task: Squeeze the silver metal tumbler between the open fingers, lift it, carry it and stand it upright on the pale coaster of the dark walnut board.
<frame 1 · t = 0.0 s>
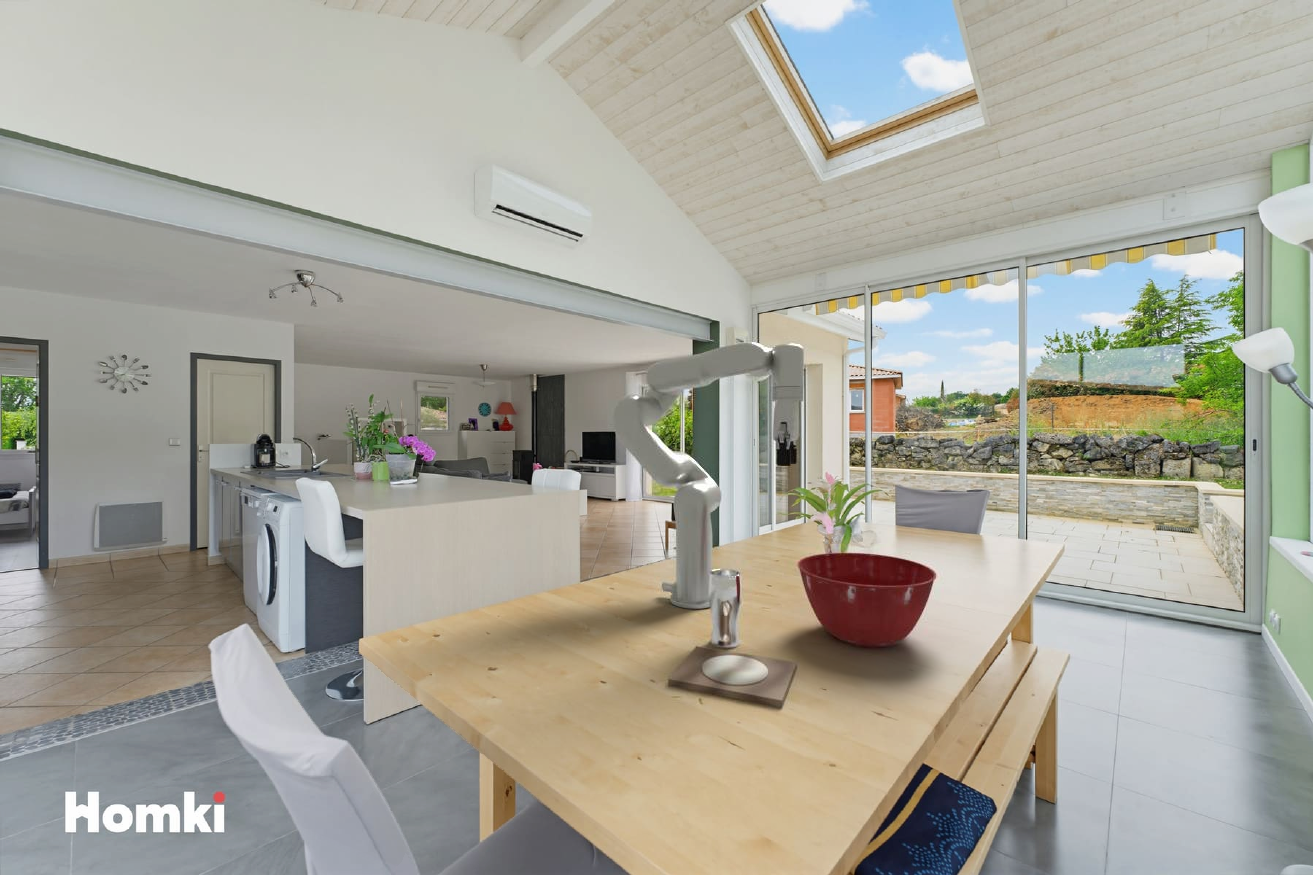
hand: (786, 464, 136), 37 cm above the table, tool pointing down, fingers open, 9 cm apart
silver metal tumbler: (724, 643, 117), on the table
mixing bowl: (862, 636, 122), on the table
walnut board: (734, 676, 101), on the table
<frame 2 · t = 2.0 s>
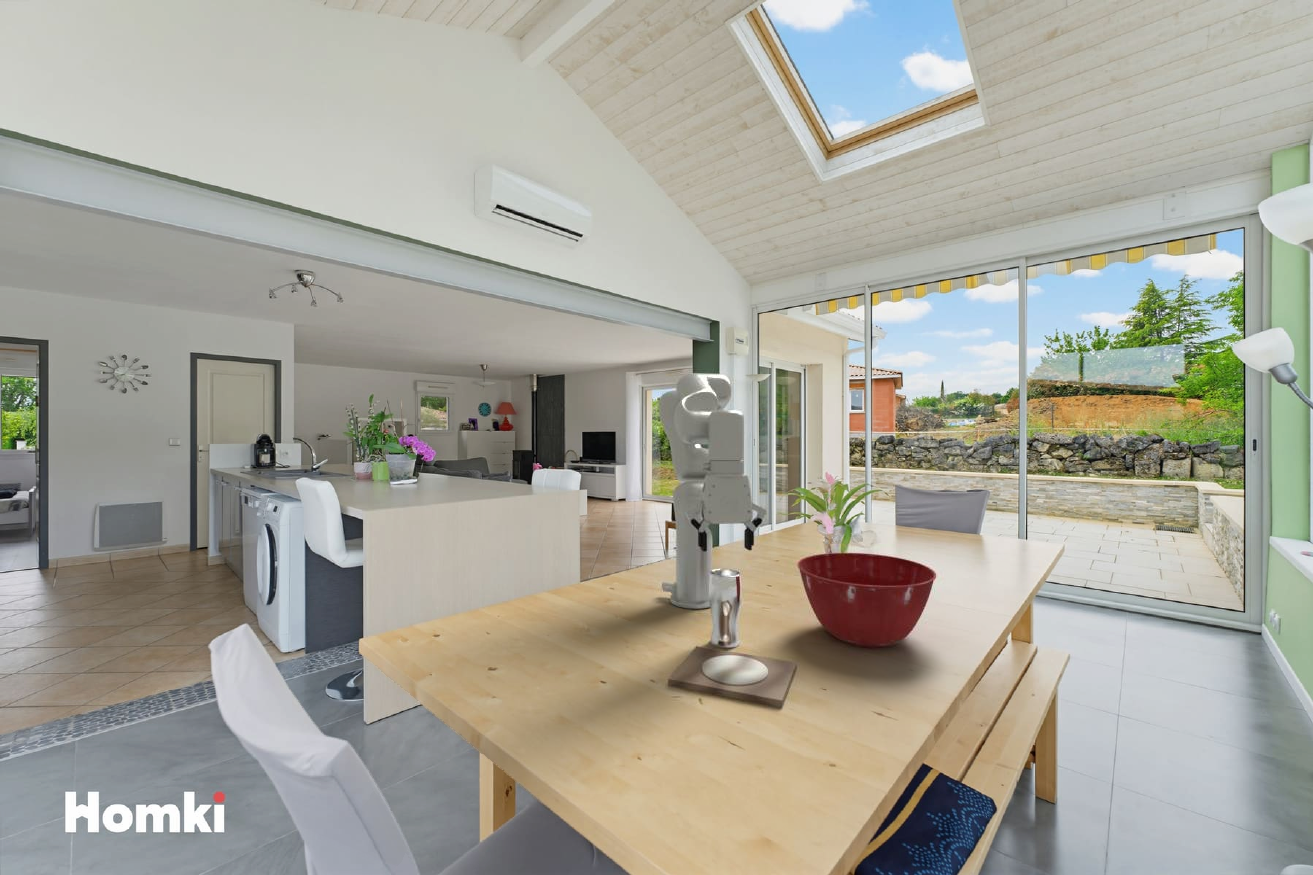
hand: (725, 549, 117), 20 cm above the table, tool pointing down, fingers open, 9 cm apart
nothing on the table moved.
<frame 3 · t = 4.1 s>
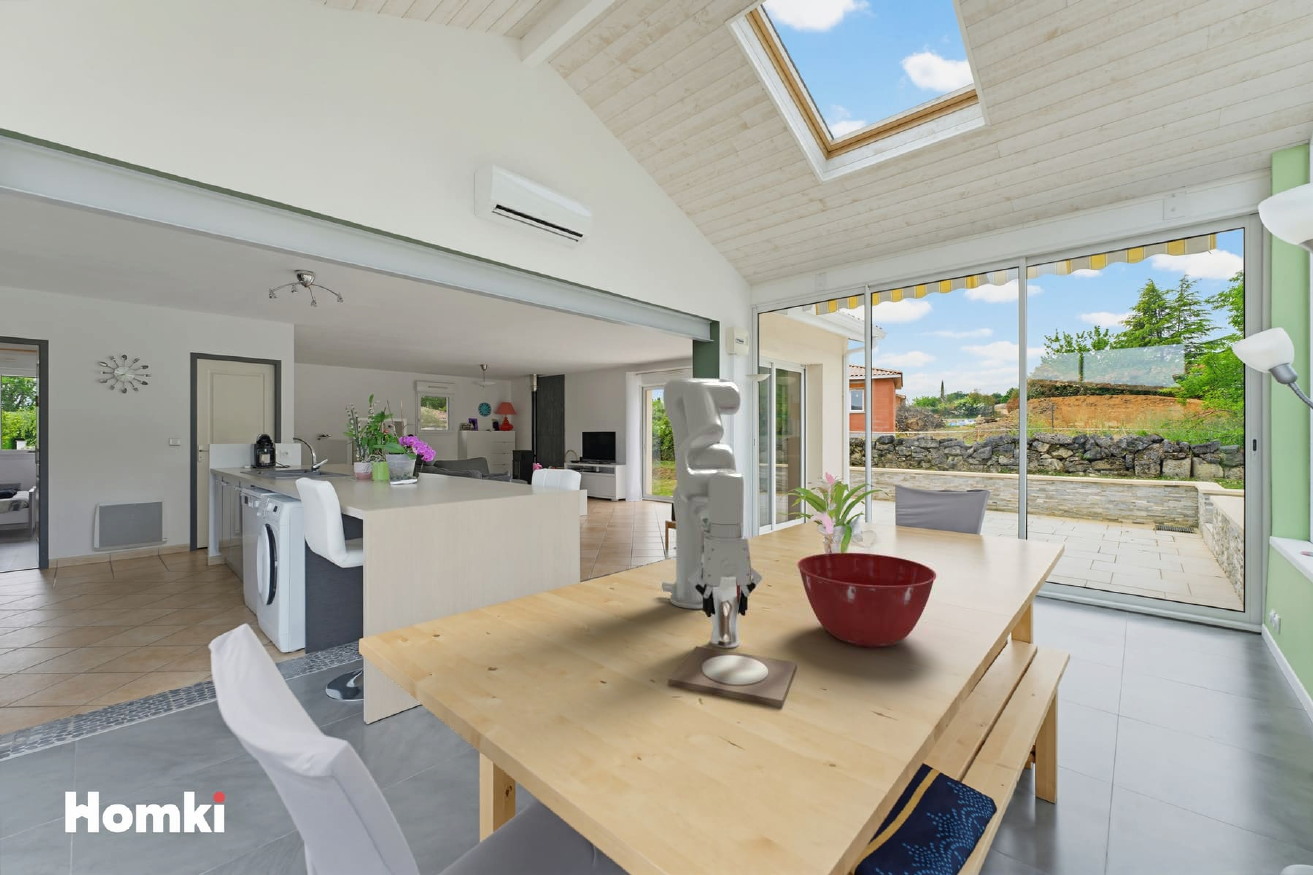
hand: (725, 613, 117), 6 cm above the table, tool pointing down, fingers closed on silver metal tumbler, 6 cm apart
silver metal tumbler: (724, 643, 117), on the table, touching gripper
everything else where it was.
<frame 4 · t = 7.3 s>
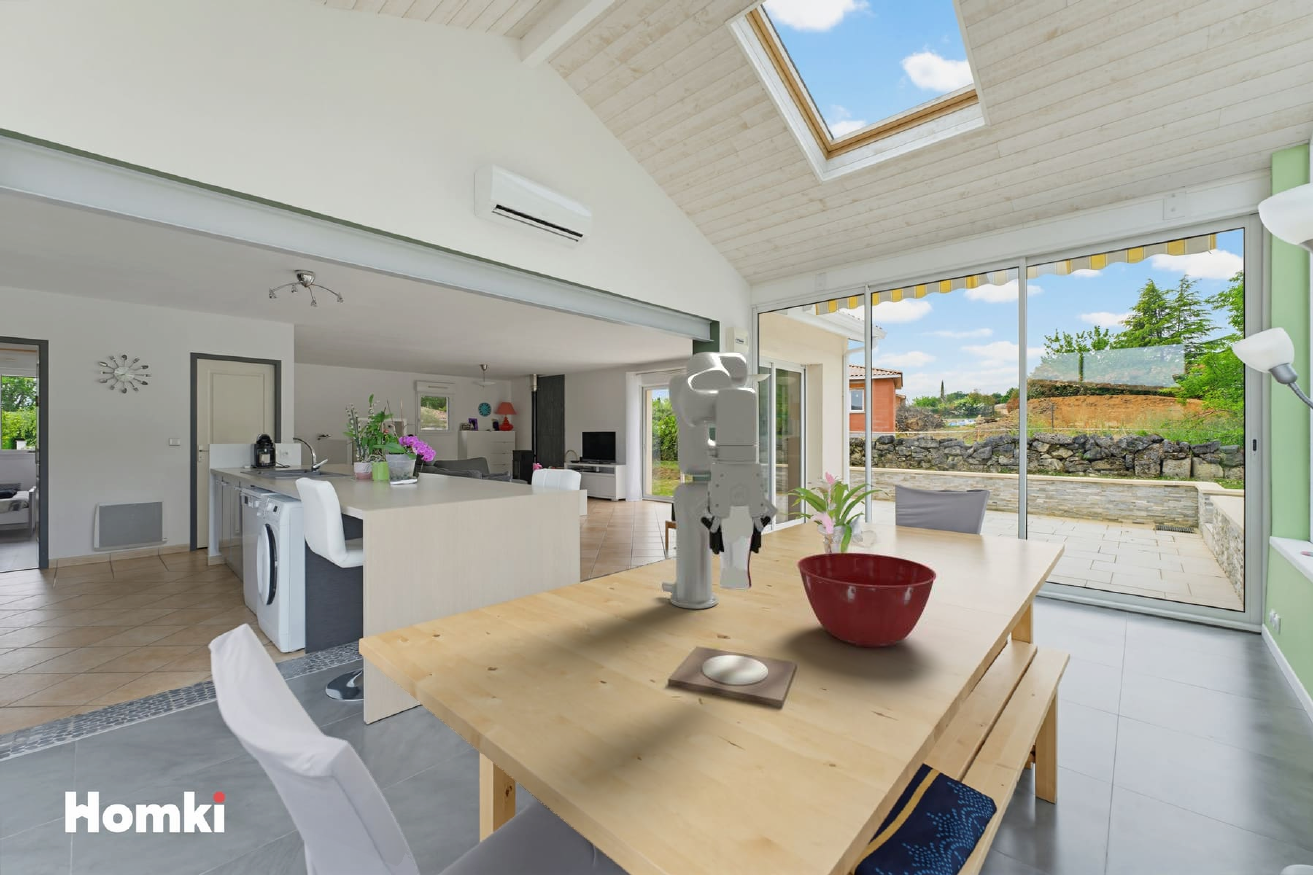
hand: (735, 551, 101), 23 cm above the table, tool pointing down, fingers closed on silver metal tumbler, 6 cm apart
silver metal tumbler: (735, 586, 102), point 17 cm above the table, touching gripper
everything else where it was.
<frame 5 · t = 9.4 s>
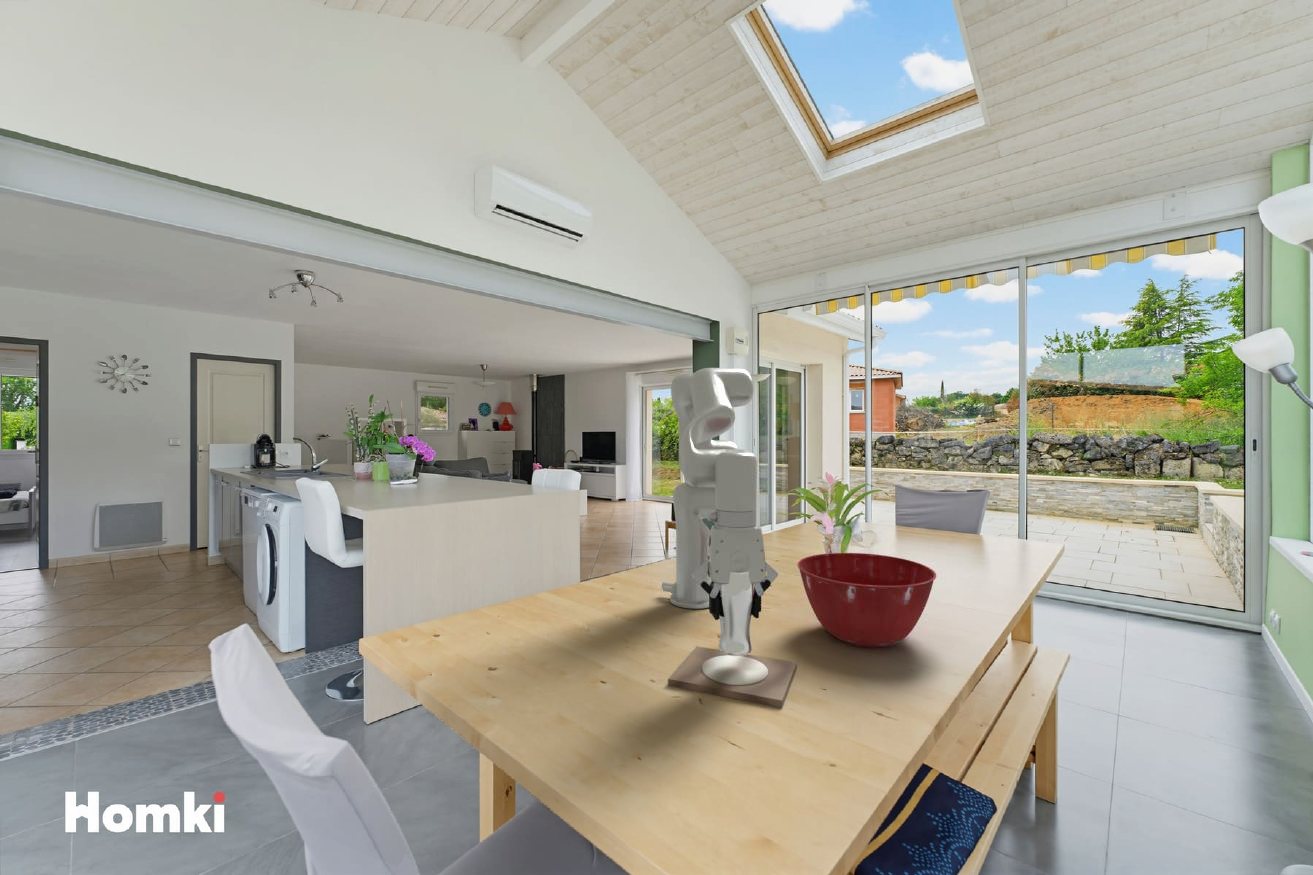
hand: (735, 615, 101), 11 cm above the table, tool pointing down, fingers closed on silver metal tumbler, 6 cm apart
silver metal tumbler: (735, 650, 101), point 5 cm above the table, touching gripper
everything else where it was.
when the fingers open (9 cm above the table, at t = 10.9 s): silver metal tumbler drops 1 cm, resting on walnut board.
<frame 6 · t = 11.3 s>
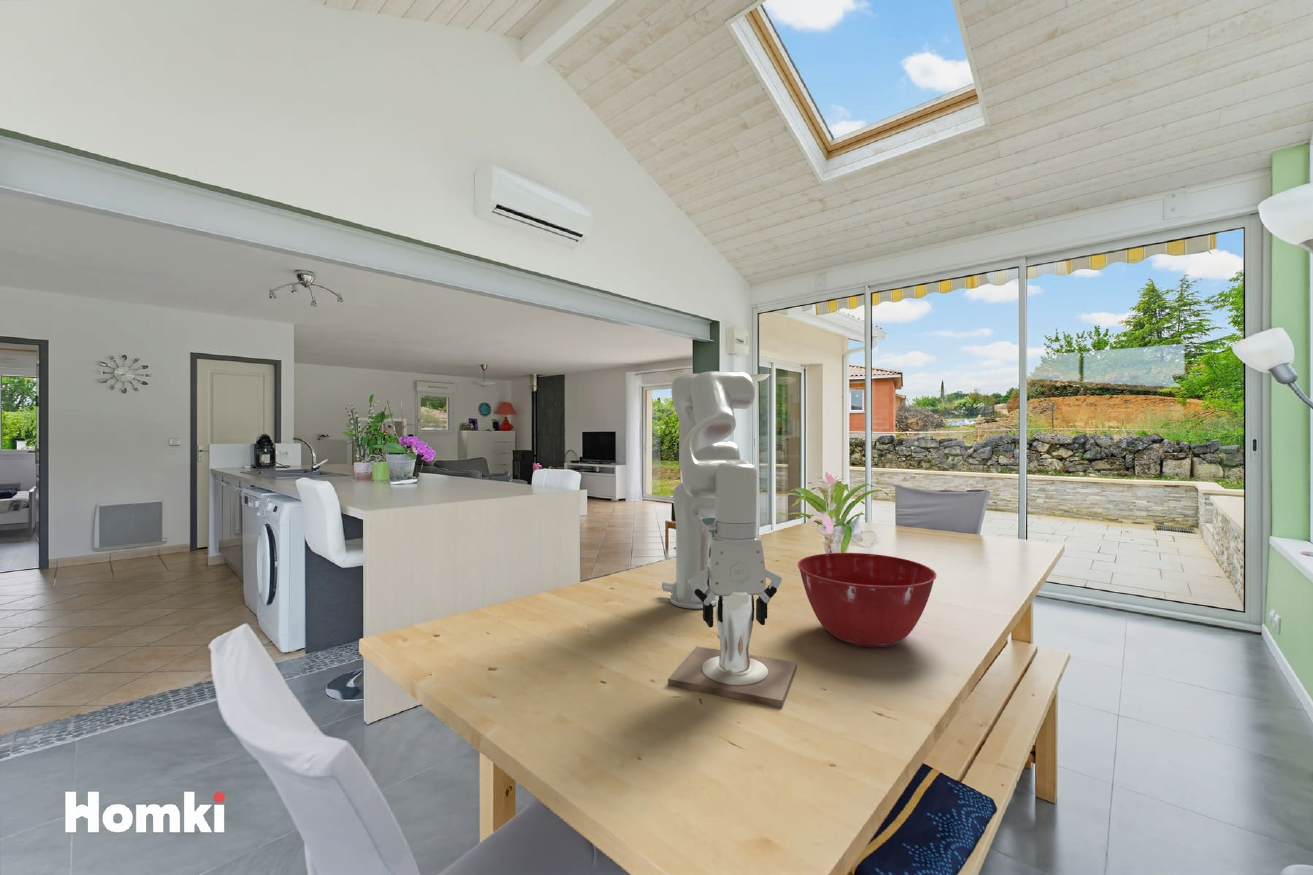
hand: (735, 623, 101), 10 cm above the table, tool pointing down, fingers open, 9 cm apart
silver metal tumbler: (734, 669, 101), point 1 cm above the table, touching walnut board
everything else where it was.
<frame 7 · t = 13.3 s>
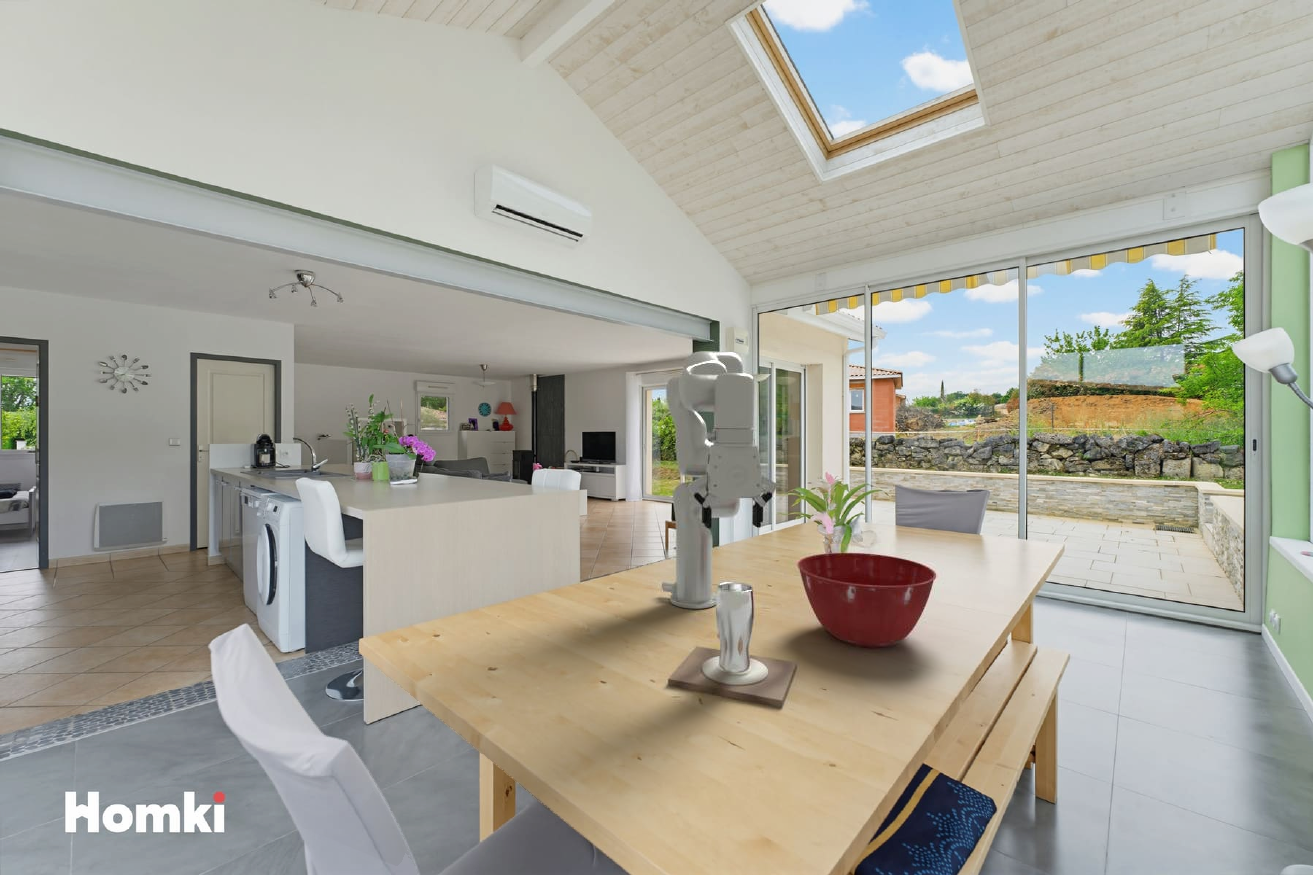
hand: (732, 526, 107), 27 cm above the table, tool pointing down, fingers open, 9 cm apart
nothing on the table moved.
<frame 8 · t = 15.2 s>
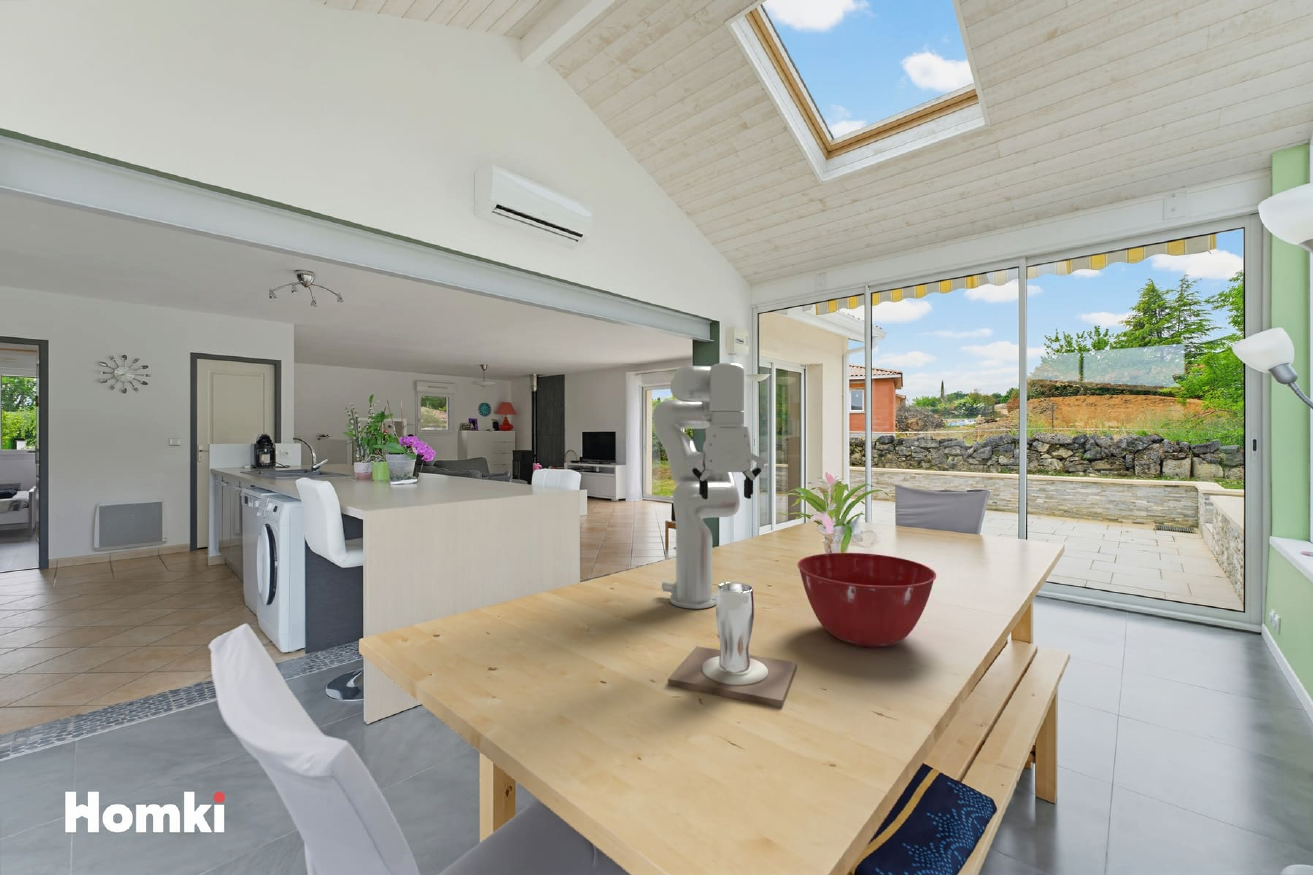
hand: (726, 498, 121), 30 cm above the table, tool pointing down, fingers open, 9 cm apart
nothing on the table moved.
at the end: silver metal tumbler inside the target area on the walnut board (0.1 cm from its centre), point 1.3 cm above the walnut board's base; silver metal tumbler tilted 0°; the gripper is holding nothing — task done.
